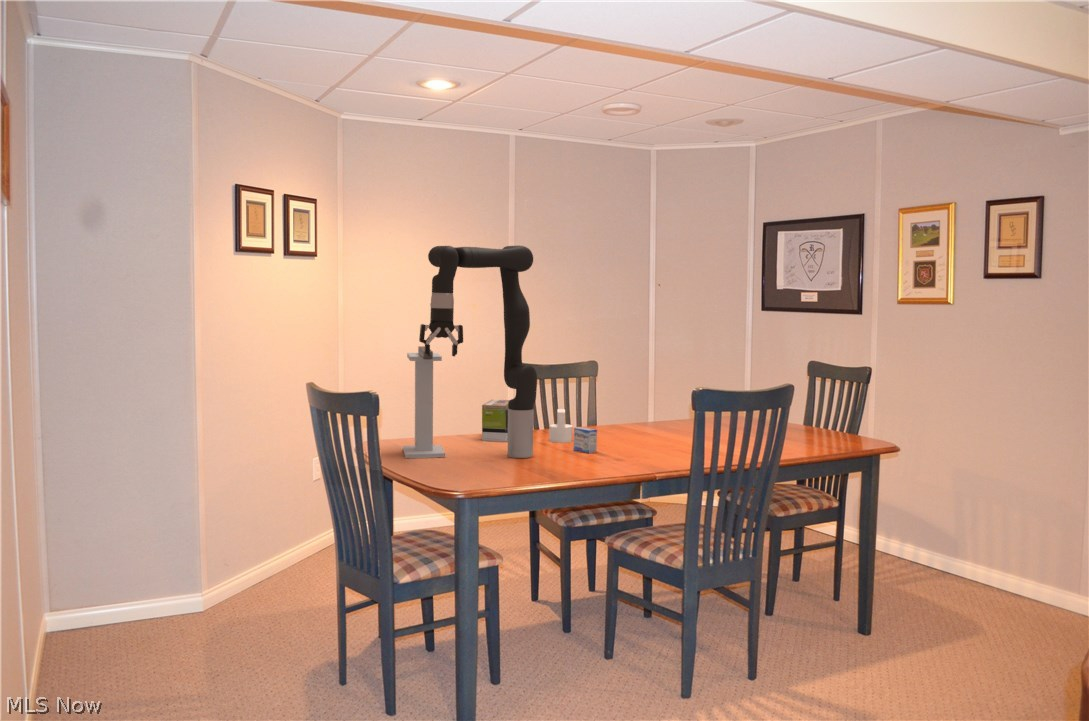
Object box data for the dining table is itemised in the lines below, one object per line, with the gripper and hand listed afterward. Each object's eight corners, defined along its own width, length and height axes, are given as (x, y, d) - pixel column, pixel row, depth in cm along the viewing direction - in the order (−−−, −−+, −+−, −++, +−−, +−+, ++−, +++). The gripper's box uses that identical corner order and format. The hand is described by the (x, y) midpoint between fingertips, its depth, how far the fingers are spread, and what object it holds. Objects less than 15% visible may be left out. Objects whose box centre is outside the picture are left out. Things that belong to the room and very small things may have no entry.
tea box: (491, 434, 356) (491, 398, 354) (515, 435, 354) (515, 399, 352) (481, 441, 341) (481, 403, 340) (506, 442, 339) (506, 405, 338)
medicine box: (573, 450, 325) (573, 427, 324) (580, 449, 328) (581, 426, 327) (589, 453, 320) (589, 430, 319) (596, 452, 323) (597, 429, 322)
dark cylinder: (433, 359, 294) (433, 352, 293) (423, 359, 293) (423, 352, 293) (426, 352, 319) (426, 346, 319) (417, 352, 319) (417, 346, 318)
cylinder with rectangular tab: (572, 443, 340) (572, 412, 339) (549, 442, 340) (549, 412, 339) (571, 438, 349) (572, 409, 348) (549, 438, 349) (550, 408, 348)
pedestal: (445, 457, 308) (445, 356, 305) (405, 458, 305) (405, 356, 302) (440, 448, 324) (441, 352, 321) (402, 449, 321) (403, 352, 318)
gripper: (422, 306, 279) (421, 356, 281) (465, 307, 284) (464, 357, 285) (418, 306, 286) (417, 354, 288) (460, 307, 291) (459, 355, 292)
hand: (441, 356), depth 286 cm, fingers open, 8 cm apart
